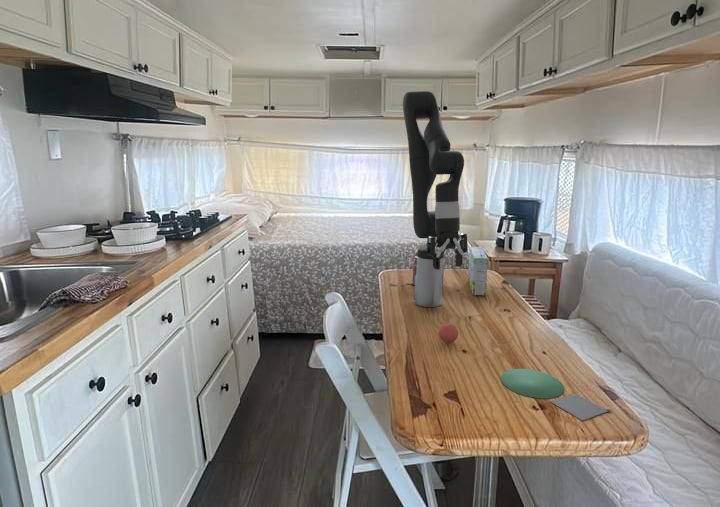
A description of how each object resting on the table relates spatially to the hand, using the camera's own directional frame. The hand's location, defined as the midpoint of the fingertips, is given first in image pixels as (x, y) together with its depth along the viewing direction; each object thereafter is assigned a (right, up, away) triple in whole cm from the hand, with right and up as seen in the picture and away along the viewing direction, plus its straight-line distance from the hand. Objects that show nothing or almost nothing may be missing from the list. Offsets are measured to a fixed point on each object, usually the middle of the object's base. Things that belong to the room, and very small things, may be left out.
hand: (447, 267), depth 144 cm
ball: (-2, -18, -14) cm, 23 cm away
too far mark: (+19, -29, -46) cm, 58 cm away
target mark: (+13, -26, -36) cm, 46 cm away
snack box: (+19, -10, +41) cm, 46 cm away
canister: (0, -9, +44) cm, 45 cm away
